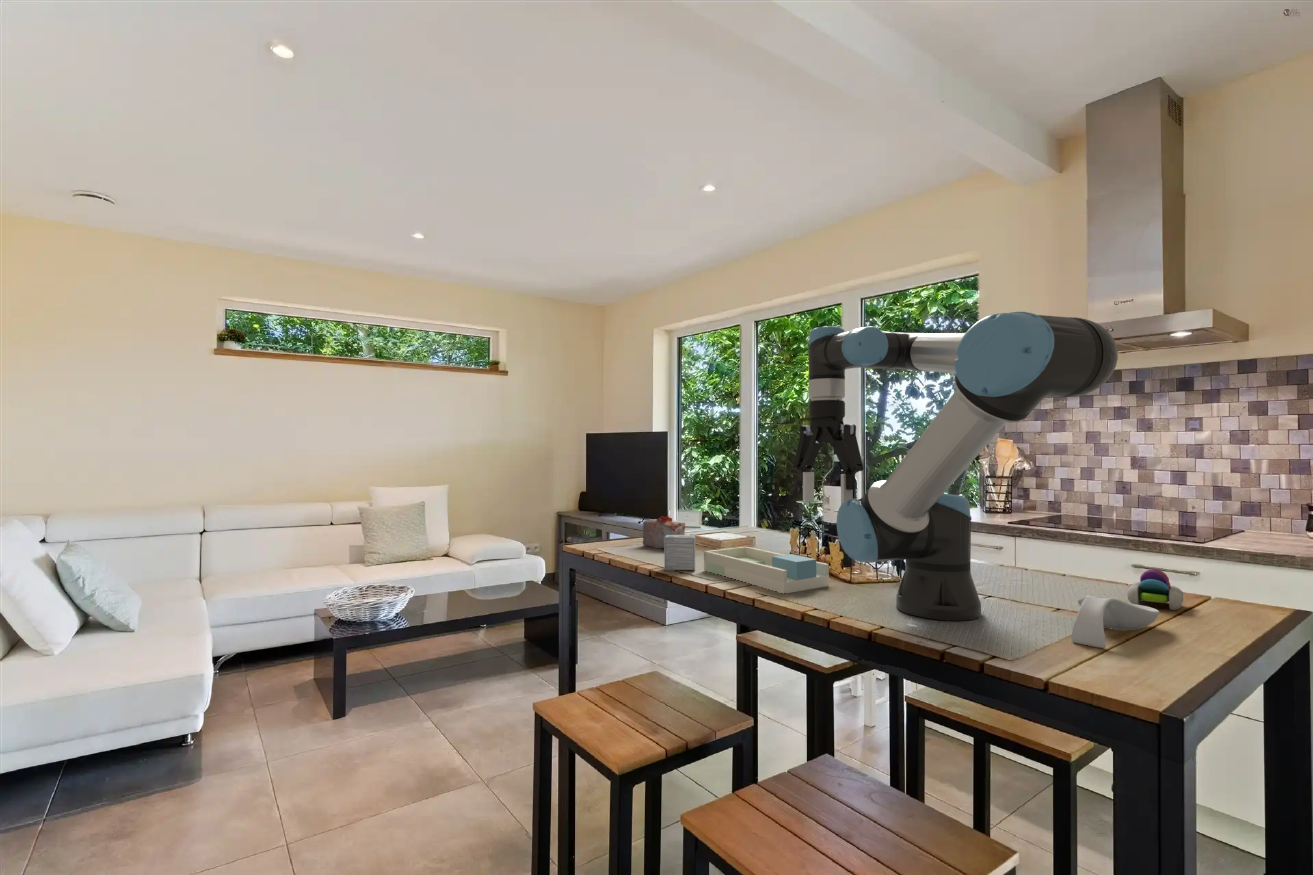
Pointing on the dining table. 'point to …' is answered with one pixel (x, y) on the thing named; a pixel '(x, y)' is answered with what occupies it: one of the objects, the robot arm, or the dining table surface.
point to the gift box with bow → (660, 531)
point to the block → (795, 566)
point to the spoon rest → (1108, 619)
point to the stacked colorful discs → (1155, 590)
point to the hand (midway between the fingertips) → (827, 503)
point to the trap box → (760, 569)
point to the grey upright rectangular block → (679, 552)
